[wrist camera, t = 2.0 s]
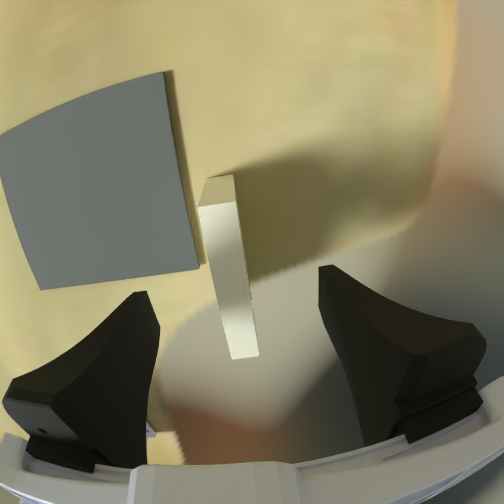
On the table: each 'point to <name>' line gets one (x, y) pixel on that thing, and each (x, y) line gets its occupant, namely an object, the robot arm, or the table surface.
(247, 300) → the tile
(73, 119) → the mat
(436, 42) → the table surface
